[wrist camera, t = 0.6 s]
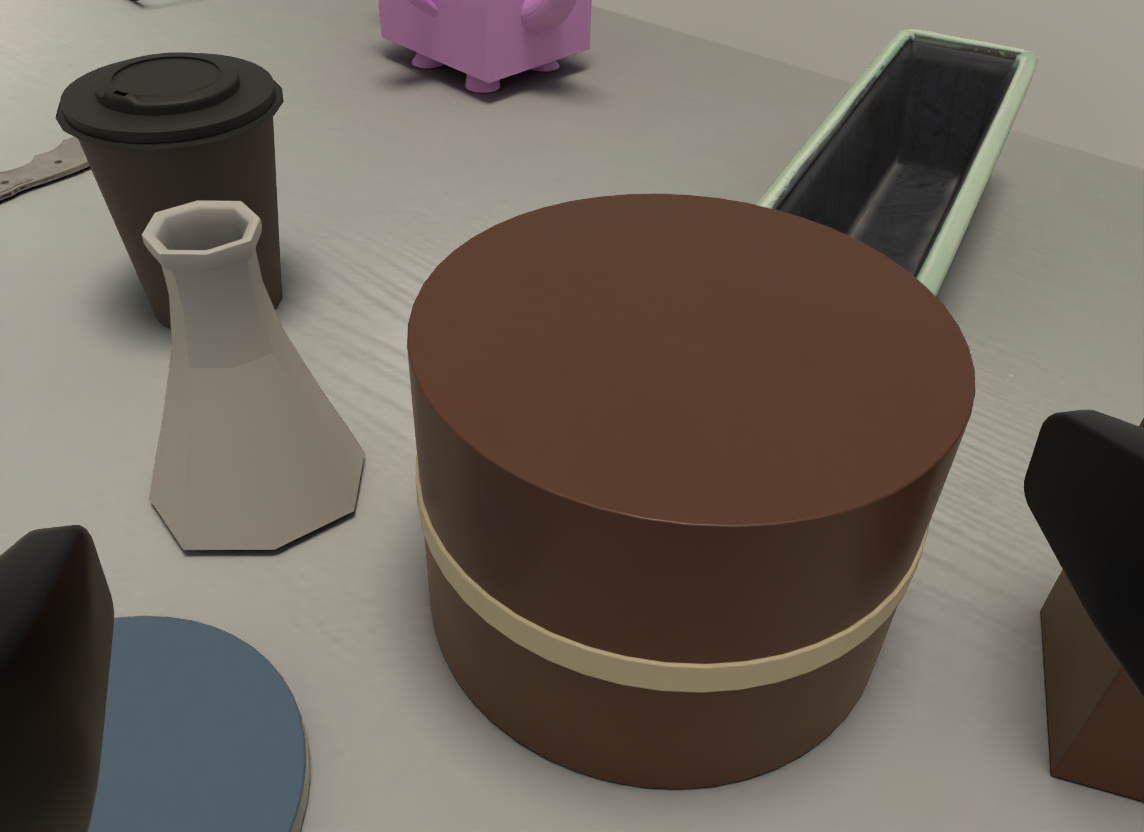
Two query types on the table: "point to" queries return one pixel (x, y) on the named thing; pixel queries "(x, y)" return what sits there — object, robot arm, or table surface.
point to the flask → (239, 397)
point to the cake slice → (1089, 701)
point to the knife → (44, 168)
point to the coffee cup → (179, 148)
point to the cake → (675, 476)
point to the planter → (910, 148)
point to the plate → (197, 735)
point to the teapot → (488, 35)
